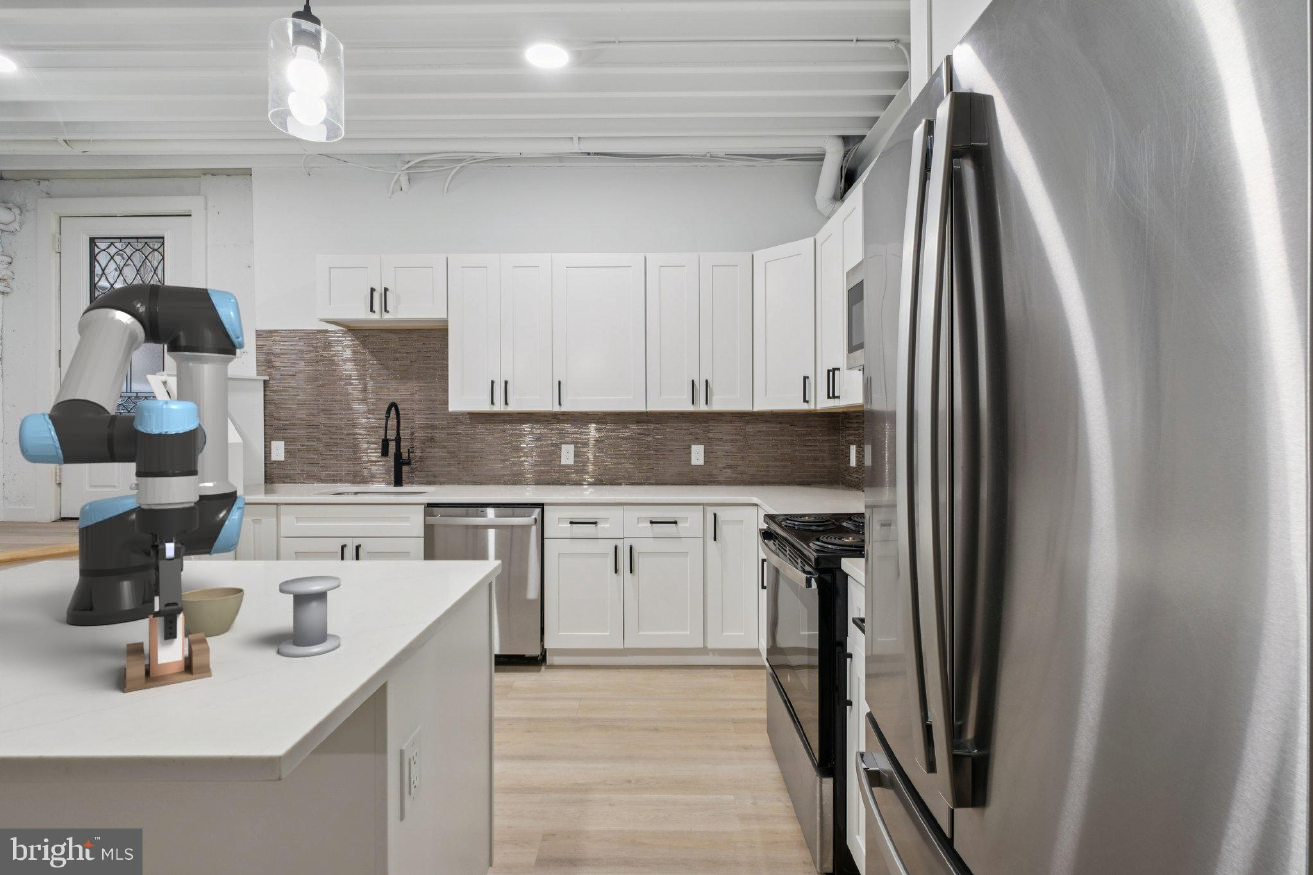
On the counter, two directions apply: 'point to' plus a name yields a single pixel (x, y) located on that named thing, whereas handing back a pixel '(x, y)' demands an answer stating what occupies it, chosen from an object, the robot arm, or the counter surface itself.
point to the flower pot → (211, 609)
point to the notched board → (140, 677)
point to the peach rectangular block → (154, 667)
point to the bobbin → (309, 616)
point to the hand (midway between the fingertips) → (167, 648)
